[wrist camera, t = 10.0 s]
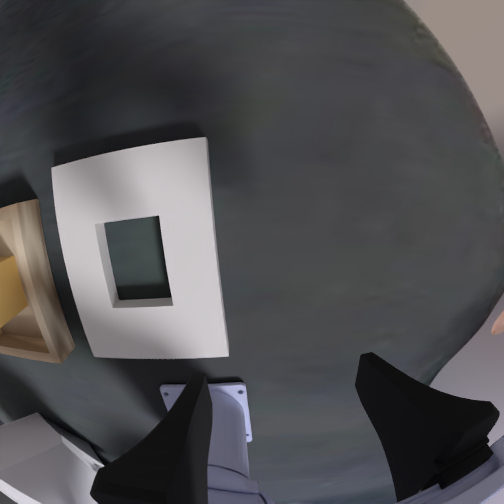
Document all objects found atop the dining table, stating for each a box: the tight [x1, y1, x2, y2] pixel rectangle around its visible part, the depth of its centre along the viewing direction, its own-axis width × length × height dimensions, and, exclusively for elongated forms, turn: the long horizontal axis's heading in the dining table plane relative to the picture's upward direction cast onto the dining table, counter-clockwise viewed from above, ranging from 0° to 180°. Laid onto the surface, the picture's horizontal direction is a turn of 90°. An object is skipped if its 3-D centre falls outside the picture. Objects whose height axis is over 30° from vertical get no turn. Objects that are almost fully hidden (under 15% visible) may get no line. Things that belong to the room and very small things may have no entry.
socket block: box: [51, 137, 229, 359], centre depth 19 cm, size 16×12×2 cm
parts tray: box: [0, 199, 75, 364], centre depth 18 cm, size 14×12×3 cm
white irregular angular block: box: [0, 412, 104, 504], centre depth 18 cm, size 17×24×17 cm
